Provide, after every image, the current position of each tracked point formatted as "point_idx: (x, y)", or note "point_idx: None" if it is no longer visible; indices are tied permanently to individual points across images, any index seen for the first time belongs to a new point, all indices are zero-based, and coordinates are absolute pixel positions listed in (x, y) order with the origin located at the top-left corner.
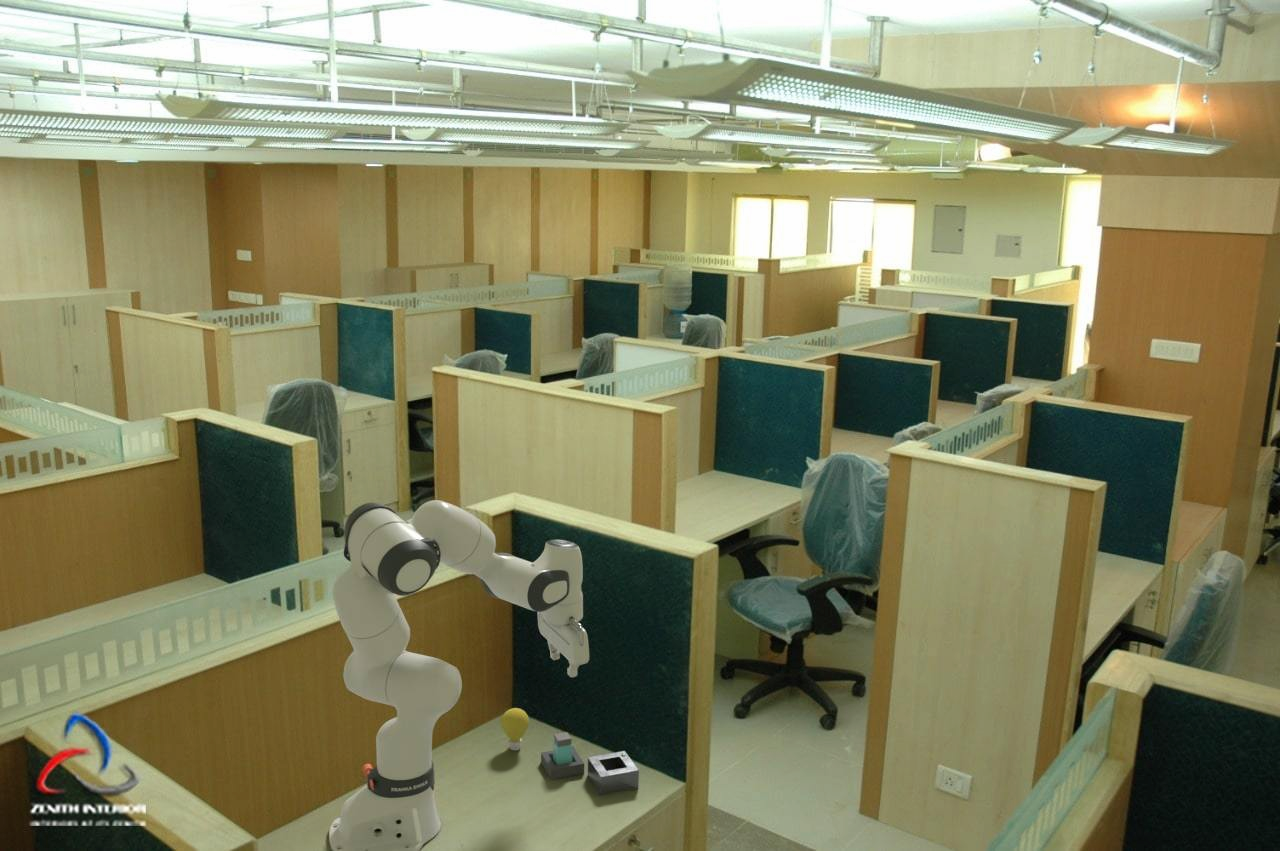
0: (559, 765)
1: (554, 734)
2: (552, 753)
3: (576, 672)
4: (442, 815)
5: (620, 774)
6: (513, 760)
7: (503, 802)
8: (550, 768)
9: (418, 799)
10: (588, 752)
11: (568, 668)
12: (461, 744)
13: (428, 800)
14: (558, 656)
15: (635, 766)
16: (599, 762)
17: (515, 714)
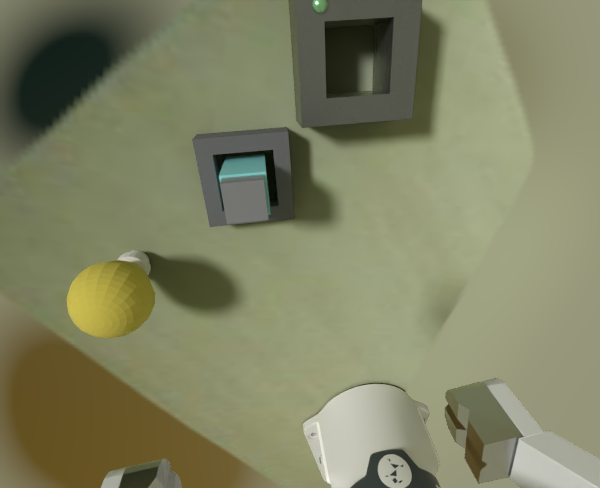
0: (282, 196)
1: (228, 223)
2: (219, 201)
3: (515, 403)
4: (350, 379)
5: (416, 53)
6: (194, 269)
7: (346, 301)
8: (289, 218)
9: (432, 469)
10: (178, 86)
11: (492, 477)
12: (114, 351)
13: (416, 447)
14: (157, 485)
15: None
16: (339, 100)
17: (121, 320)
